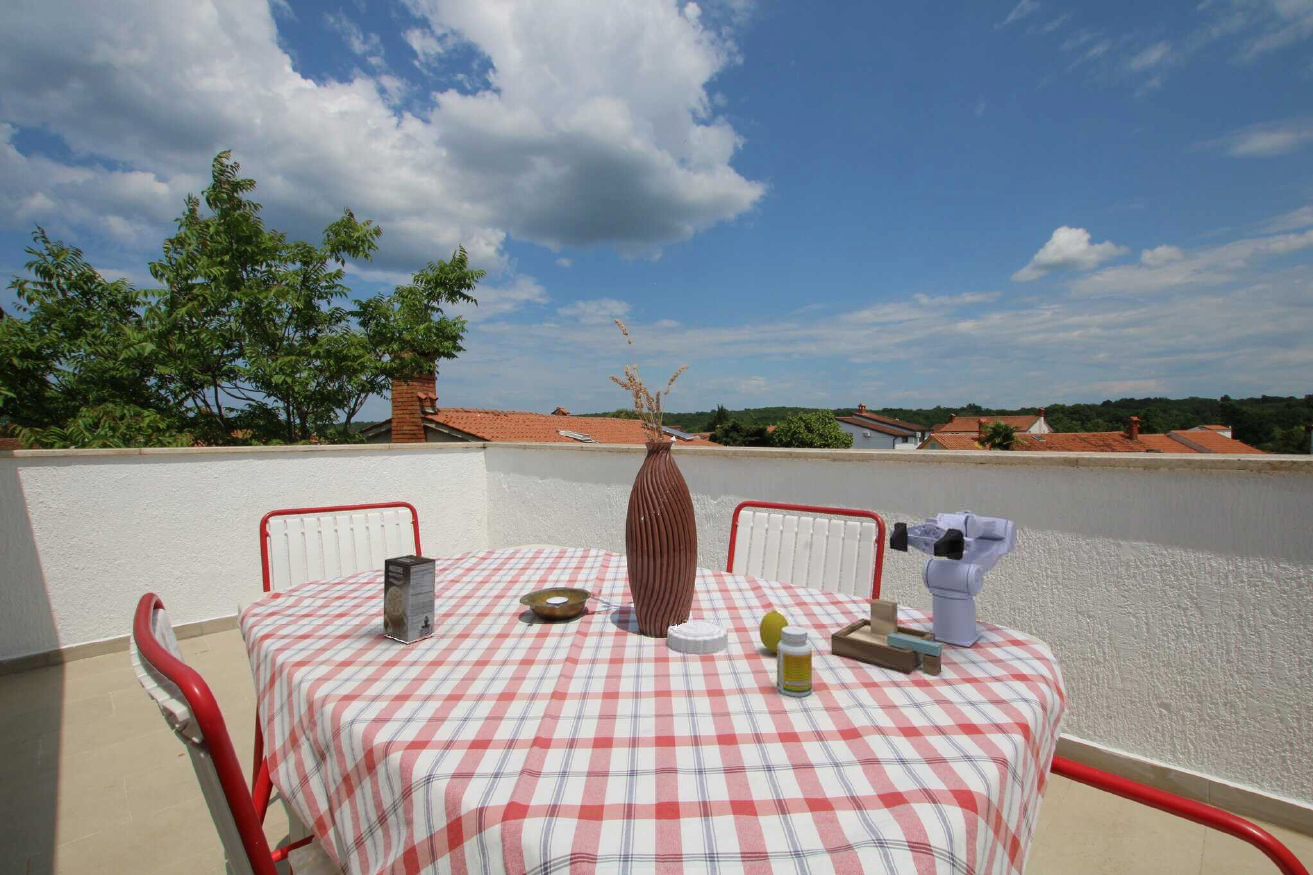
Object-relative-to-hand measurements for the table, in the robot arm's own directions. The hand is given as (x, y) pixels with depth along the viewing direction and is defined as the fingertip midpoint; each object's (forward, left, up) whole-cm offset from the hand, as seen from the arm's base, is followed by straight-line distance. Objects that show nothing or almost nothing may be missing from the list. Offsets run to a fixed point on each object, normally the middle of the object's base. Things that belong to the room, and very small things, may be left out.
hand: (913, 546), depth 98 cm
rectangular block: (+1, 0, -18) cm, 18 cm away
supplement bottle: (+24, -10, -21) cm, 34 cm away
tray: (-2, -4, -21) cm, 22 cm away
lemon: (+12, -21, -21) cm, 32 cm away
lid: (-2, -6, -19) cm, 20 cm away
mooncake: (+18, -35, -21) cm, 45 cm away
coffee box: (+56, -81, -21) cm, 101 cm away
